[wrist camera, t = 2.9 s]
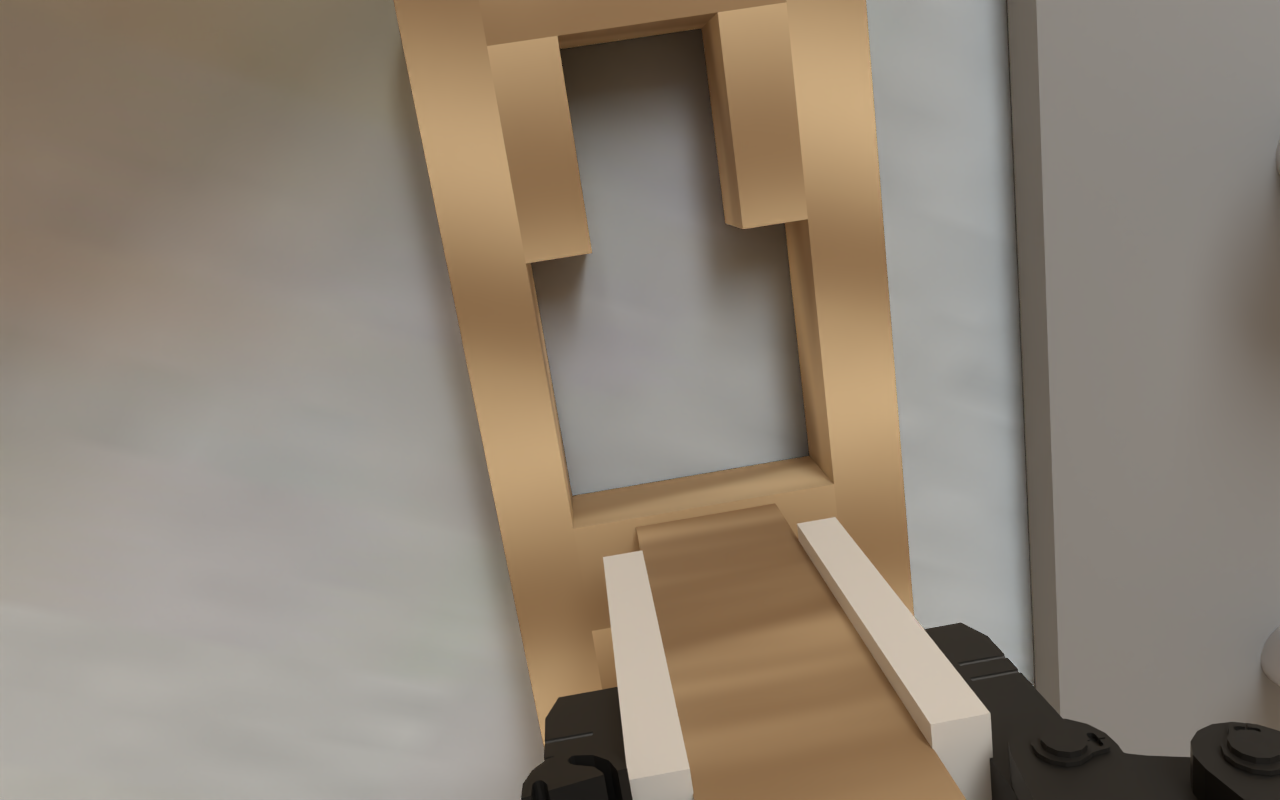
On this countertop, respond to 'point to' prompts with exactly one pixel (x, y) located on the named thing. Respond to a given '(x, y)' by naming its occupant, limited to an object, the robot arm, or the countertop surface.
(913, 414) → the countertop surface
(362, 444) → the countertop surface
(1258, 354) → the board
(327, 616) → the countertop surface
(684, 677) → the ball track frame
